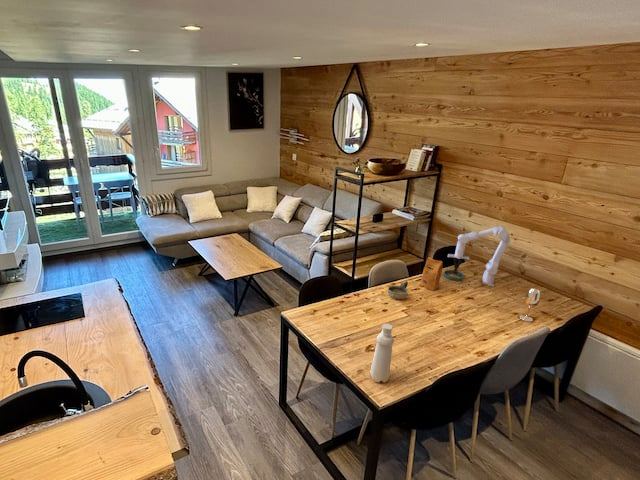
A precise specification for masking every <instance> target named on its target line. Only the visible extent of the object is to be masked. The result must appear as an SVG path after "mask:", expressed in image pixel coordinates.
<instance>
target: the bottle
mask: <svg viewBox="0 0 640 480" xmlns="http://www.w3.org/2000/svg"><path fill="white" fill-rule="evenodd" d="M392 330H393V325H392V324H389V323H383V324H382V326H381V332H379V334H378V335H377V336H376V342H377V343H376V345H375V348H374V354H373V359H372V363H371V365H370V371H369V374H370V376H371V379H372V381H374V382H375V383H381V382H382V383H386V382H387V381H389V380H390V375H391V362H392V354H393V345H394V343H395V339H394V336H393V335H392Z"/></svg>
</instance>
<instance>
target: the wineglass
mask: <svg viewBox="0 0 640 480" xmlns="http://www.w3.org/2000/svg"><path fill="white" fill-rule="evenodd" d="M540 300H541V290H540V289H537V288H529V290H528V291H527V293H526V295H525V296H524V298H523V302H524V304H525V306H527V307H528V308H527V311H526V314H520V315H519V316H518V317H519V319H520V320H522V321H524V322H531V323H532V322H533V321H534V318H532V317H531V316H529V313H530V310H531V308H535V307H537V306H539V304H540Z"/></svg>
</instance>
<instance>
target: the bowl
mask: <svg viewBox="0 0 640 480" xmlns="http://www.w3.org/2000/svg"><path fill="white" fill-rule="evenodd" d="M408 285H409V283H408V280H402V281H401V283H400V284H399V285H390V286H388V287H387V294H388V295H389V296H390V297H391V298H394V299H397V300H403V299H406V298H407V297H408V295H409V289H408Z"/></svg>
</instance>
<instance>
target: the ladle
mask: <svg viewBox="0 0 640 480" xmlns="http://www.w3.org/2000/svg"><path fill="white" fill-rule="evenodd" d="M457 266H458V263H456V267H454V269H451V270H452V273H454V274H458V272H459V270H458V268H457ZM454 274H453V275H454Z"/></svg>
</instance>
